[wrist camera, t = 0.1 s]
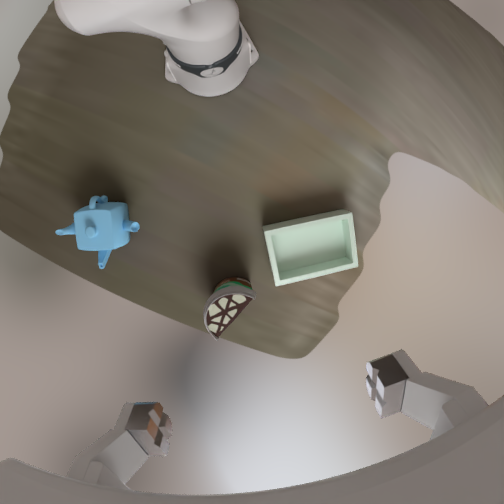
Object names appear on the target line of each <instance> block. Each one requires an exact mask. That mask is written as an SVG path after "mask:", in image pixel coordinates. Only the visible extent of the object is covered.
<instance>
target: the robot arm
mask: <svg viewBox="0 0 504 504" xmlns="http://www.w3.org/2000/svg"><path fill="white" fill-rule="evenodd" d="M55 9H56V12H57V14H58V17H59V18H60V20H61V21H62V22H63V23H64V24H65V25H66V26H67V27H68V28H69V29H71V30H73V31H74V32H77V33H79V34H82V35H87V36H89V35H95V34H100V33H107V32H133V33H140V34H145V35H150V36H153V37H156V38H159V39H161V40H162V41H163V43H164V45H166V50H165V51H164V54H165V57H166V63H165V77H166V79H167V80H168V81H170V82H173V83H177V84H180V85H181V86H183V87H184V88H185V89H186V90H188V91H189V92H191V93H193V94H196V95H200V96H208V97H209V96H218V95H222V94H225V93H227V92H229V91H231V90H233V89H234V88H235V87H237V86H238V85H239V84H240V83H241V82H242V80H243V79H244V77H245V76H246V73H247V71H248V69H249V68H250V66H252V65H253V64H254V63H255V62H256V61H257V60H258V58H259V54H258V52H257V50H256V48H255V46H254V45H253V43H252V41H251V39H250V37H249V36H248V34H247V32H246V30H245V29H244V27H243V25H242V24H241V22H240V20H239V9H238V6H237V4H236V2H235V0H55ZM251 51H252V52H251ZM366 370H367V372H368V376H367V377H366V386H367V391H368V394H369V396H370V398H371V399H372V400H374V401H375V408H376V410H377V412H378V414H379V416H380V418H384V417H387V416H390V415H392V414H395V413H397V412H400V411H401V413H403V414H405V415H406V416H408V417H410V418H412V419H414V420H415V421H417V422H419V423H421V424H423V425H425V426H427V427H428V428H430V429H432V430H433V433H432V435H431V438H430V440H429V441H428V442H426V443H424V444H422V445H420V446H417V447H415V448H413V449H411V450H409V451H406V452H404V453H402V454H399V455H397V456H395V457H392V458H390V459H387V460H384V461H382V462H379V463H377V464H374V465H371V466H368V467H365V468H362V469H359V470H356V471H353V472H349V473H346V474H342V475H339V476H335V477H332V478H328V479H324V480H319V481H315V482H311V483H306V484H302V485H296V486H291V487H285V488H279V489H273V490H265V491H257V492H247V493H236V494H217V495H181V494H162V493H150V492H141V491H133V490H131V489H130V488H129V487H128V486H126V485H125V484H126V483H127V481H128V480H129V479H130V478H131V477H132V476H133V475H134V474H135V473H136V471H137V470H138V469H139V468H140V467H141V466H142V465H143V463H144V462H145V461H146V460H147V459H148V458H149V456H167V454H168V450H169V445H170V443H169V442H168V441H167V439H169V438H170V437H171V436H172V431H173V430H172V423H171V420H170V418H169V416H168V415H167V414H165V413H163V407H162V405H161V404H160V403H158V402H142V403H141V402H139V403H138V402H137V403H126V404H124V406H123V408H122V410H121V413H120V415H119V418H118V420H117V422H116V425H115V427H114V430H113V429H111V430H109V431H108V432H107V433H105V434H104V435H103V436H102V437H100V438H99V439H98V440H96V441H95V442H94V443H93V444H91V445H90V446H88V447H87V448H86V449H85V450H83V451H82V452H81V453H79V454H78V455H76V456H75V458H74V460H73V462H72V465H71V467H70V469H69V472H68V474H67V476H62V475H59V474H56V473H52V472H49V471H46V470H43V469H41V468H37V467H35V466H32V465H30V464H27V463H24V462H22V461H20V460H17V459H14V458H8V459H6V460H3V461H1V462H0V504H504V395H503V396H502V397H500V398H499V399H498V400H496V401H495V402H493V403H492V404H491V405H488V404H487V403H486V401H485V400H484V399H483V398H482V397H481V395H480V394H479V393H478V392H477V391H476V390H475V388H474V387H472V386H469V385H465V384H462V383H459V382H456V381H452V380H449V379H446V378H443V377H440V376H437V375H434V374H431V373H428V372H423V373H422V372H421V371H420V370H419V369H418V367H417V366H416V365H415V364H414V362H413V361H412V360H411V358H410V357H409V356H408V355H407V354H406V352H405V351H404V350H402V349H401V350H399V351H396V352H394V353H391V354H388V355H386V356H383V357H380V358H377V359H375V360H372V361H369V362H367V364H366Z"/></svg>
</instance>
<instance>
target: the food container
mask: <svg viewBox="0 0 504 504" xmlns="http://www.w3.org/2000/svg"><path fill="white" fill-rule="evenodd" d="M255 297H256V292H255V291H253V290H252V287H251V284H250V282H249V281H248V280H246V279H243V278H240V277H230V278H226V279H224V280H222V281H221V282H220V283H219V284H218V285H217V286H216V288H215V290H214V293H213V294H212V295H211V296H210V297H209V299H208V300H207V302H206V304H205V306H204V312H203V316H204V322H205V326H206V328H207V330H208V331H209V333H210V334H211V336H213V338H215V339H216V340H217V341H218V338H219V336H220V335H221V333H222V332H223V331H224V330H225V329H226V328H227V327H228V326H229V325H230V324H231V323H232V322H233V321H234V320H235V319H236V317H237V316H238V315H239V314H240V313H241V311H242V310H243V309H244V308H245V307H246V306H247V305H248V303H249V302H250V301H251V300H252V299H254V300H255Z"/></svg>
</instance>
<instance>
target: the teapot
mask: <svg viewBox="0 0 504 504" xmlns="http://www.w3.org/2000/svg"><path fill="white" fill-rule="evenodd" d="M96 201H97V202H98V203H96ZM138 230H139V224H138V223H137V222H134V221H129V213H128V205H127V204H126V203H121V202H108V198H107V196H105V195H103V196H101V197H99V196H93V197H92V198H91V199H90V202H89V205H88V206H85V207H83V208H81V209H79V210H78V211H76V212H75V213H74V223H73V224H71V225H70V226H68V227H66V228H63V229H59V230H57V231H56V234H57V235H65V234H76V240H77V246H78V249H80V250H90V251H98V258H99V262H98V264H99V267H100V268H105V265H106V263H107V260H108V258H109V255H110V253H111V251H112V249H116V248H119V247H121V246H124V245H125V244H127V243H128V242H129V241H130V231H131V232H137V231H138Z"/></svg>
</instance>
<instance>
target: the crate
mask: <svg viewBox="0 0 504 504" xmlns="http://www.w3.org/2000/svg"><path fill="white" fill-rule="evenodd" d="M262 227H263V232H264V237H265V241H266V246H267V250H268V255H269V260H270V264H271V269H272V274H273V278H274V282H275V285H276V286H280V285H284V284H288V283H293V282H297V281H301V280H306V279H310V278H314V277H318V276H322V275H326V274H330V273H334V272H338V271H342V270H346V269H350V268H354V267H358V259H357V249H356V240H355V232H354V224H353V217H352V213H351V212H349V211H347V210H345V209H340V210H335V211H330V212H326V213H321V214H316V215H311V216H307V217H302V218H297V219H293V220H288V221H283V222H279V223H274V224H270V225H265V226H262Z"/></svg>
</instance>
